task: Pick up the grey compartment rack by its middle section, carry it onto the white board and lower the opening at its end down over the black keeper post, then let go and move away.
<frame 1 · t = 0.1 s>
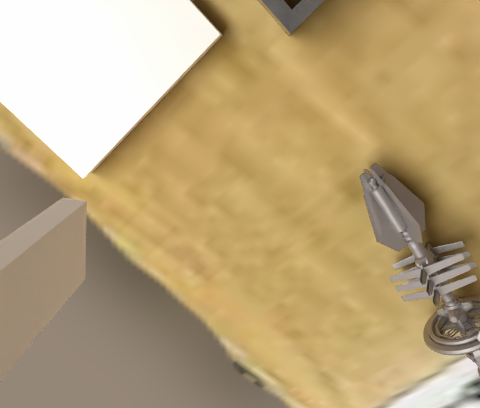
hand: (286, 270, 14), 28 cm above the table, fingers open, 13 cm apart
spaceship: (448, 301, 45), on the table
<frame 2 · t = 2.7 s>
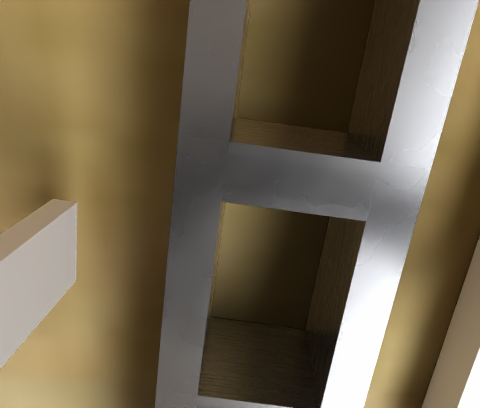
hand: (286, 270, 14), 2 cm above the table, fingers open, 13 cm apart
grey compartment rack: (270, 251, 16), on the table
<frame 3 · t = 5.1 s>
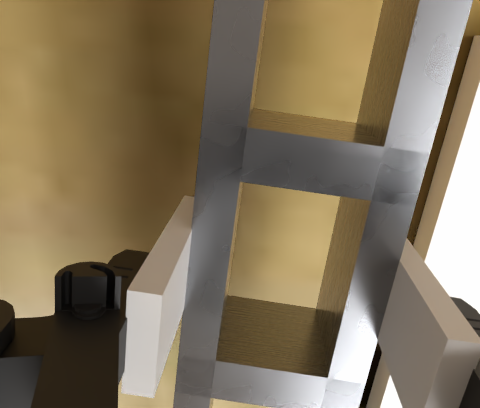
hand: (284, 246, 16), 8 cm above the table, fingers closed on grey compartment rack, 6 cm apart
grey compartment rack: (283, 234, 17), point 7 cm above the table, touching gripper
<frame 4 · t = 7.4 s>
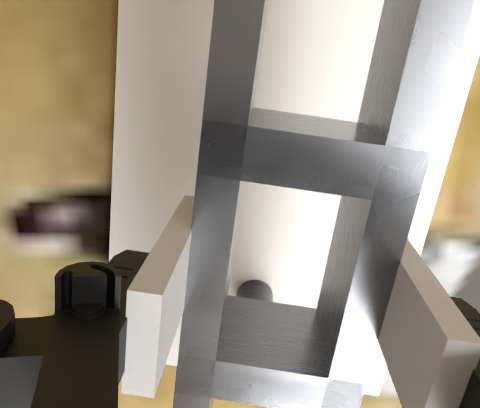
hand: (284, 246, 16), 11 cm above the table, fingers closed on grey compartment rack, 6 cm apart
keeper post: (255, 279, 29), resting on white board
white board: (274, 160, 26), on the table
grey compartment rack: (284, 233, 17), point 10 cm above the table, touching gripper
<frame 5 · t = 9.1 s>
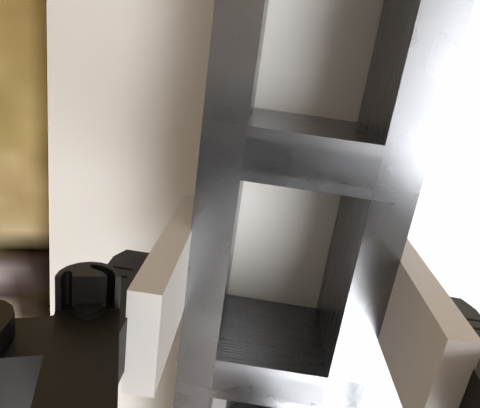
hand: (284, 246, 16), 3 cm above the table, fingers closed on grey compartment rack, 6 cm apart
keeper post: (254, 360, 21), resting on white board
white board: (281, 203, 19), on the table
grey compartment rack: (284, 233, 17), point 2 cm above the table, touching gripper, white board
when the fingers open (3 cm above the table, at t = 10.1 s): grey compartment rack stays where it is, resting on white board.
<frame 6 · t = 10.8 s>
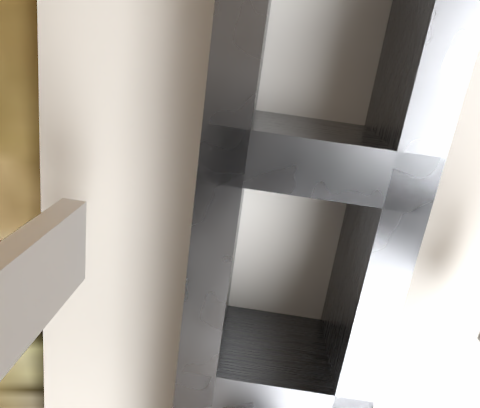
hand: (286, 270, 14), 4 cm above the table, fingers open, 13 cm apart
white board: (284, 210, 18), on the table
grey compartment rack: (287, 241, 16), point 2 cm above the table, touching white board
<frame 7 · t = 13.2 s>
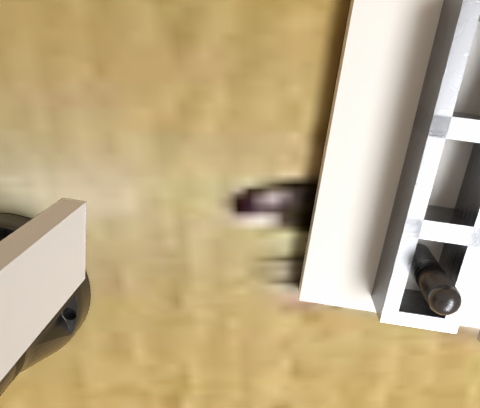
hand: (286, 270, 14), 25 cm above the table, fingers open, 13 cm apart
keeper post: (410, 245, 39), resting on white board
white board: (433, 158, 37), on the table
grey compartment rack: (441, 169, 35), point 2 cm above the table, touching white board
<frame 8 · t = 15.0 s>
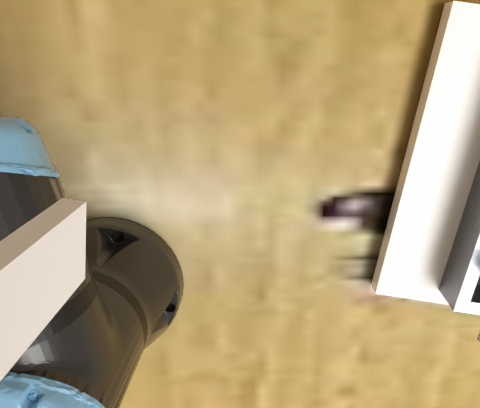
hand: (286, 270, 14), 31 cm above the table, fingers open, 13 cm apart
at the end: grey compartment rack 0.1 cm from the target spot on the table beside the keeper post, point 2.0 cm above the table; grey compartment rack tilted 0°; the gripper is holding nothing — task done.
